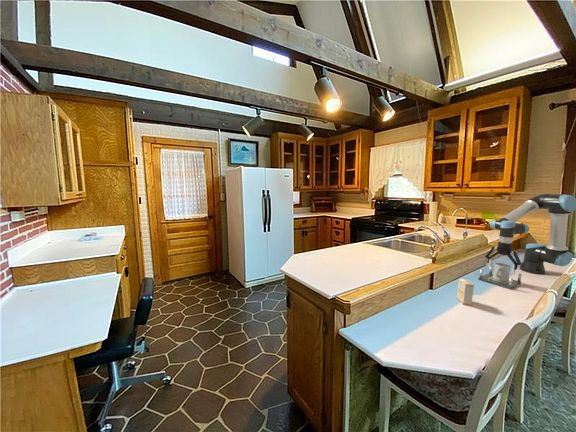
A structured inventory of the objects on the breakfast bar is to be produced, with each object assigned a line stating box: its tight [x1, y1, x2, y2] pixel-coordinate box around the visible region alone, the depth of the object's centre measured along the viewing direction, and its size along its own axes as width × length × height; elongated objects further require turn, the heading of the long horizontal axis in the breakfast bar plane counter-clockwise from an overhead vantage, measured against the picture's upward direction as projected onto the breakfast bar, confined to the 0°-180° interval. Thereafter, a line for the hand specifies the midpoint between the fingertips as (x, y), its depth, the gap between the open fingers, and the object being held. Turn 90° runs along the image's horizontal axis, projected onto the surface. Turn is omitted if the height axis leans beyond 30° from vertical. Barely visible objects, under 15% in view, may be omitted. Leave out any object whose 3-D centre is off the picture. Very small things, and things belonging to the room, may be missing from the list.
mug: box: [493, 262, 511, 281], centre depth 178 cm, size 12×8×11 cm
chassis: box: [477, 265, 523, 290], centre depth 179 cm, size 19×19×8 cm
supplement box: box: [456, 278, 475, 306], centre depth 148 cm, size 8×5×13 cm, turn 168°
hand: (500, 270), depth 178 cm, fingers open, 13 cm apart
